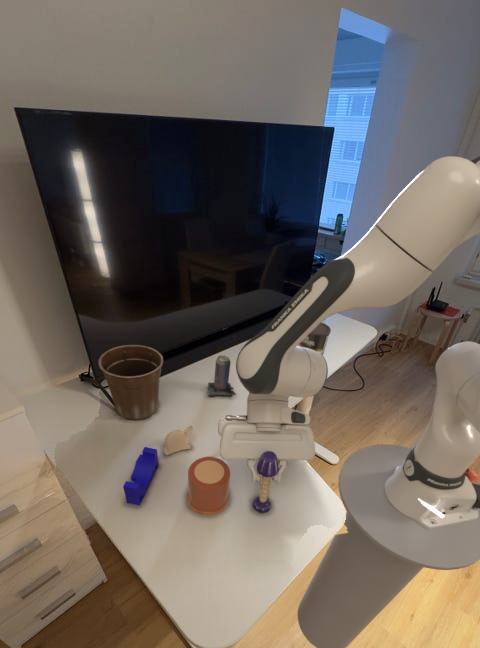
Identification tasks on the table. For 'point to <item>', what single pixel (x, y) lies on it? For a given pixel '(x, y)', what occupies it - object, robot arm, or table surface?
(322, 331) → the coffee can
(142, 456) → the blue notched block
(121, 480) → the table surface
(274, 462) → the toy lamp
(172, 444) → the decorative ornament
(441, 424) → the robot arm
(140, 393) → the plant pot
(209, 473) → the cup
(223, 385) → the post on square base
